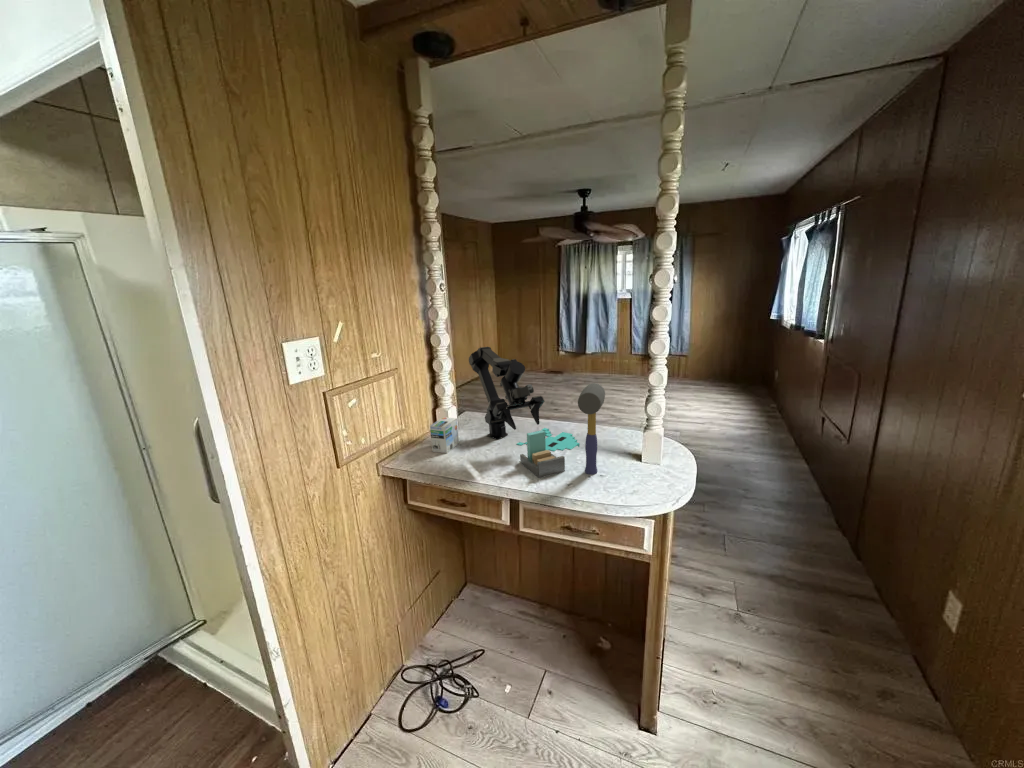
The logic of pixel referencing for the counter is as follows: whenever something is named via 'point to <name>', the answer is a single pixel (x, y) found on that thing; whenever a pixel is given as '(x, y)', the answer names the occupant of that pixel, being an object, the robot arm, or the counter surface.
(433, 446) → the light bulb box
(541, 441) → the teal rectangular block
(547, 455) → the offcut
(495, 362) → the robot arm
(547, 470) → the rack
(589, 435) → the rubber mallet
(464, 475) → the counter surface
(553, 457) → the offcut
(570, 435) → the alien figure
